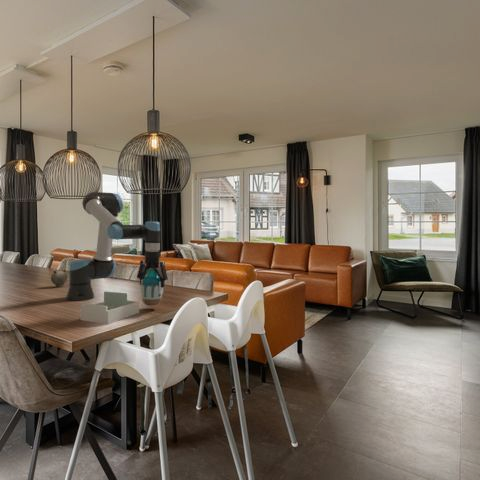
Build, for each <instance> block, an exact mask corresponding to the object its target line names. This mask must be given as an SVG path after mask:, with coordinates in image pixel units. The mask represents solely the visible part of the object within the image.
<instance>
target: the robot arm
mask: <svg viewBox="0 0 480 480" xmlns="http://www.w3.org/2000/svg"><path fill="white" fill-rule="evenodd" d="M123 202H124V201H123V199H122V197H121V195H120V194H118V193H115V192H103V191H102V192H101V191H100V192H99V191H92V192H91V191H90V192H89V193H86V195H85V196H84V197H83V199H82V202H81V204H82V208H83V209H84V211H85V212H86V213H87V214H88V215H92V216H93V218H95V220H97V221H98V222H99V223H98V225H99V226H98V231H97V242H96V243H97V245H96V252H95V255H93V257H92V260H91V259H90V258H79V259H74V260H72V261H70V263H69V267H68V271H69V274H68V275H69V287H68V290H67V294H66V300H67V301H74V302H75V301H86V300H92V299H94V298H95V293H94V292H93V287H92V280H99V279H108V278H111V277H113V276H114V275H115V273H116V270H117V264H116V261H115V260H114V257H113V256H112V247H113V240H118V241H119V240H136V239H137V240H141V239H142V240H144V246H145V247H144V250H145V252H144V258H145V260H144V259H141V260H140V262H139V263H140V264H139V268H138V271H137V275H136V278H137V279H139V283H140V285H139V286H141V287H140V289H141V290H140V291H141V293H142V280H143V278H144V277H146V275H147V270H148V269H154V270H155V271H156V273H157V275H158V277H159V279H160V281H159V294H162V295H163V294H164V288H165V281H168V279H169V278H168V274H167V270H166V266H165V265H166V263H165V261H160V258H161V257H160V256H161V255H160V254H161V253H160V250H161V243H160V242H161V226H160V225H161V223H160V222H159V221H145V223H144V224H123V223H122V222H121V221H120V220H119V219H117V218H118V217H119V213H122V211H123V209H124V203H123Z"/></svg>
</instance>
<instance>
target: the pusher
mask: <svg viewBox="0 0 480 480" xmlns="http://www.w3.org/2000/svg"><path fill="white" fill-rule="evenodd" d="M127 300H128V293H127V292H116V291H107V290H105V291H103V301H104V306H108V310H111V309H114V308H118V307H121V306H124V305H127Z"/></svg>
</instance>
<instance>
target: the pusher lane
mask: <svg viewBox="0 0 480 480" xmlns="http://www.w3.org/2000/svg"><path fill="white" fill-rule="evenodd" d="M79 313H80V314H79V315H80V318H79V319H80V321H82V322H91V323H98V324H104V323H107V325H110V324H112V322H113V323H115V322H118V321H120V319H121V320H123V319H122V318H124V319H126V318H128V316H129V317H132V316H135V315H137V314H140V301H136V300H128V299H127V305H124V306H121V307H118V308H114V309H111V310H108V306H104V300H103V301H100V302H97V303H93V304H92V303H82V305H81V307H80V312H79ZM136 313H137V314H136ZM134 314H135V315H134ZM131 315H132V316H131ZM125 317H126V318H125ZM117 320H118V321H117ZM114 321H115V322H114ZM109 323H110V324H109Z"/></svg>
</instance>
